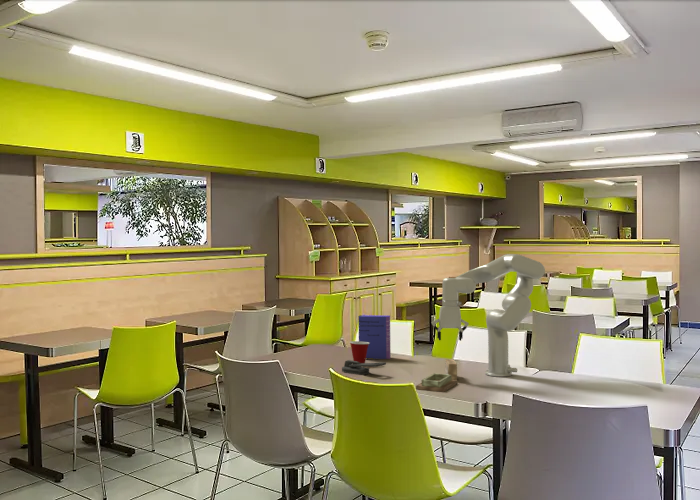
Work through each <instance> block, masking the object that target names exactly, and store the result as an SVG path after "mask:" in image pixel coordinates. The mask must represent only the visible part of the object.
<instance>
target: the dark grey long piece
mask: <svg viewBox="0 0 700 500" xmlns="http://www.w3.org/2000/svg"><path fill="white" fill-rule="evenodd" d="M343 365H344V366H342V367H341V372H343V373H346V374H352V375H357V376H358V375H360V376H361V375H362V376H363V375H369V374H370V368H371V367H373V368H374V367H375V368H376V367H382V366H385V365H387V362H365V363H359V362H357V361H354V360H353V359H352V360H351V359H348V360H345V362H344V364H343Z"/></svg>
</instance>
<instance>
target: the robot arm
mask: <svg viewBox="0 0 700 500" xmlns="http://www.w3.org/2000/svg"><path fill="white" fill-rule="evenodd" d="M510 272H513V273H514V272H515V273H516V277H517V278H516V279H517V281H516V283H515V285H514V286H513V288H512V289H511V290H510V291H509V292H508V293H507V294H506V296H505V297H504V298H503V299H502V301H501V307H502V309H498V308H494V309H491V310H489V312H488V313H487V314H486V319H485V321H486V329H487V338H488V339H487V341H488V342H487V343H488V345H487V346H488V347H487V350H488V351H487V353H488V354H487V355H488V358H487V359H488V369H487V370H485V371H484V374H485V375H486V376H490V377H499V378H500V377H510V376H512V375H513V373H518V368H517V367H511V365H510V364H509V334H508V332H511V331H513V330H515V329H516V328H517V327H518V325H520V323H521V322H522V321H523V320H525V318H526V316H527V315H528V314H529V313H530V311H531V308H532V302H531V299H530V295H531V294H532V293H533V290H534V280H539V279H542V278H543V277H544V275H545V273H546V268H545V266H544V264H543V263H542V262H540V261H537V260H535V259H532V258H530V257H527V256H525V255H522V254H517V253H516V254H515V253H506V254H504V255H502V256H499V257H497V258H496V259H493V260H492V261H490V262H488V263H486V264H484V265H481V266H478V267H476V268H473V269H470V270H468V271H466V272H464V273H462V274H460V275H458V276H456V277H445V278H443V280H442V285H441V286H442V292H441V293H442V296H441V297H442V301H441V305H442V306H440V308H439V314H438V315H439V318H438V319H435V320H433V321H432V322H431V325H432V326H433V329H435V330H436V331H437V334H436V335H437V339H438V340H439V341H442V332H441V330H442V329H458V330H459V331H458V340H459V341H462V340H463V336H464V335H463V333H464V331H465V330H466V329H467V327H468V326H469V322H467V321H466V320H464V319H462V316H461V315H462V314H461V308H460V305H462V301H459V294H467V295H468V294H472V293H474V291H475V290H476V288H477V285H478V284H482V283H489V282H492V281H495V280H496V279H499V278H501V277H503V276H504V275H507V274H509V273H510ZM437 323H438V325H439V326H437V325H436V324H437ZM462 323H463V324H464V326H462Z"/></svg>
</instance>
